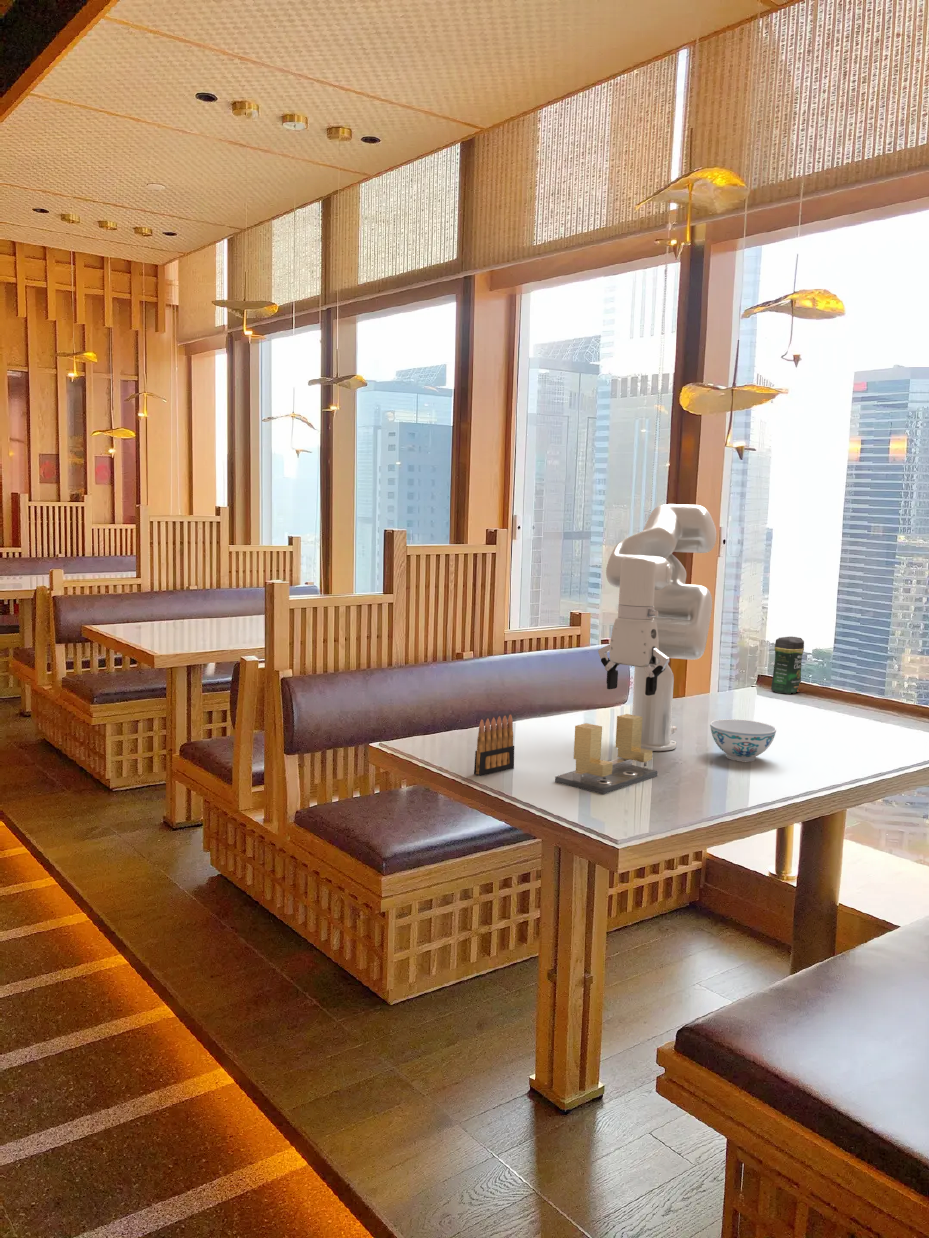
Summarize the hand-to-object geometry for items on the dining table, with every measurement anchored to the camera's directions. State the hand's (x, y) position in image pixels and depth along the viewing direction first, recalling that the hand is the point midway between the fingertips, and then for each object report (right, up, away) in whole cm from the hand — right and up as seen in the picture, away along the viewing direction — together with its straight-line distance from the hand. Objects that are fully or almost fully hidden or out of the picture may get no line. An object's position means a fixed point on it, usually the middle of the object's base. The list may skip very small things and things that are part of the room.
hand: (630, 691), depth 215 cm
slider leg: (+1, -16, +1) cm, 16 cm away
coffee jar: (+70, -9, +111) cm, 132 cm away
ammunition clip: (-30, -17, -2) cm, 35 cm away
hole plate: (-6, -18, -5) cm, 20 cm away
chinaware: (+29, -17, +18) cm, 38 cm away
